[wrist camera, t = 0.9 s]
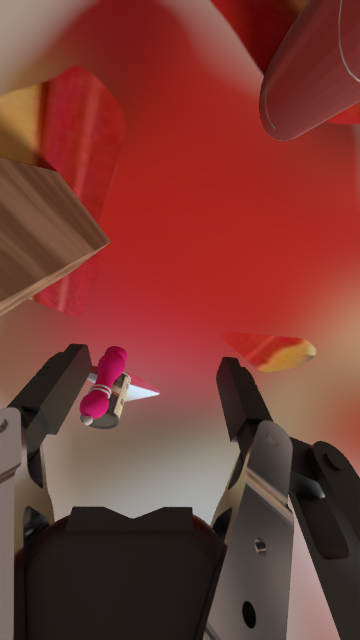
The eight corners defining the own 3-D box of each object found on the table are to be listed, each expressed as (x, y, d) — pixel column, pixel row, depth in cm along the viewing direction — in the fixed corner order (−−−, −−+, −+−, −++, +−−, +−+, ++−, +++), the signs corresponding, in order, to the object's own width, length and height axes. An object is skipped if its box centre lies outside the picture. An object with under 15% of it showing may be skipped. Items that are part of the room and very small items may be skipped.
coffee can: (94, 374, 57) (71, 417, 45) (117, 364, 54) (99, 408, 42) (114, 389, 62) (99, 432, 50) (136, 381, 59) (125, 425, 47)
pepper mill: (100, 352, 50) (60, 423, 34) (114, 340, 48) (80, 412, 31) (118, 364, 54) (91, 435, 37) (133, 354, 51) (111, 426, 35)
